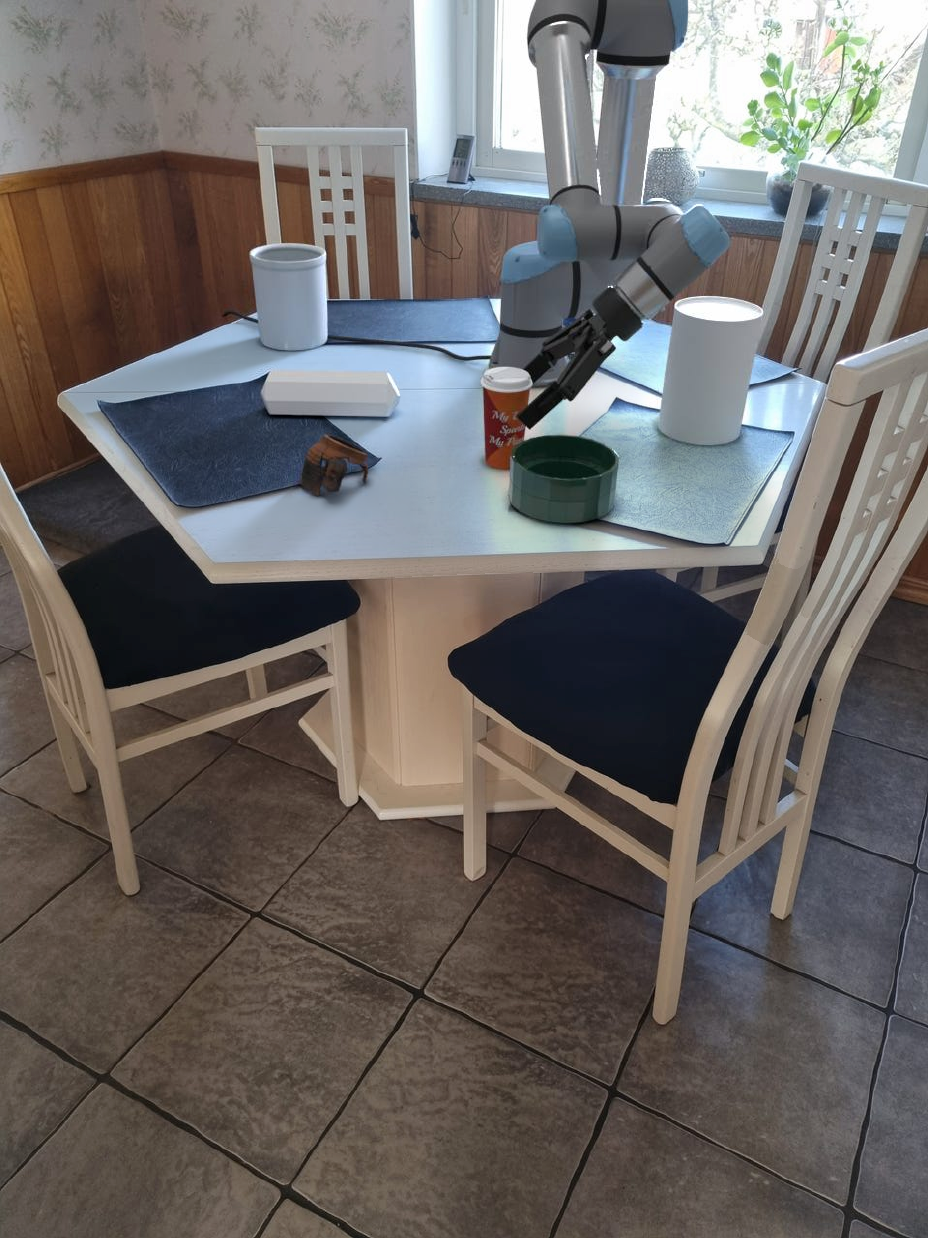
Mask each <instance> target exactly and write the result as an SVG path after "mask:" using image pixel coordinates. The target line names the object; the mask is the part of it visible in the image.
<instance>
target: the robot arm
mask: <svg viewBox="0 0 928 1238" xmlns="http://www.w3.org/2000/svg"><path fill="white" fill-rule="evenodd" d="M688 22H689V0H535V1H534V4H533V6H532V9H531V11H530V15H529V18H528V24H527V32H526V43H527V54H528V59H529V61H530V63H531V64H532V66H533V67H534V68H536V79H537V90H538V99H539V108H540V119H541V128H542V137H543V149H544V159H545V160H544V161H545V169H546V179H547V180H546V181H547V188H548V189H547V190H548V199H549V200H548V201H549V205H544V206H542V207H541V209H540V211H539V213H538V218H537V226H536V234H537V237H536V240H533V241H528V242H524V243H520V244H517V245H515V246H513V247H511V248H510V249H508V250H507V251H506V252H505V253H504V255H503V258H502V264H501V272H500V278H499V279H500V280H499V281H500V283H501V284H500V308H499V310H500V311H499V312H500V313H499V332H498V336H497V338H496V341H495V343H494V346H493V348H492V349H493V350H492V352H491V354H490V355H489V354H488V355H473V356H463V355H459V354H456V353H454V352H452V351H450V350H448V349H446V348H443V347H440V346H436V345H431V344H430V345H429V344H423V343H413V342H406V341H395V340H383V339H374V338H362V337H352V336H343V335H342V336H341V335H334V334H327V340H336V341H344V342H345V341H346V342H354V343H355V342H356V343H366V344H374V345H375V344H377V345H388V346H397V347H407V348H417V349H425V350H431V351H435V352H439V353H442V354H445V355H446V356H448V357H450V358H453V359H455V360H459V361H463V362H464V361H465V362H471V361H483V360H484V361H485V360H489V362H488V370H489V369H492V368H496V367H514V368H519V369H522V370H525V371H526V372H528V373H529V375H530V377H531V378H530V379H531V380H532V383H533V385H532V387H531V388H542V387H546V388H545V389H544V390H543V391H541V393H539V394H538V395H537V396H536V397H535V398H534V399H533V400H532V401H531V402H530V403H528V406H526V407H525V408H524V409H523V410H522V411H521V412H520V413H519V414H518V415H517V418H518V419H519V420H520V421H521V422H522V423H523V424H524V425H525V426H526V428H527V429H528V430H529V431H530V430H531V429H533V428H534V427H535V426H536V425H537V424H538V423H539V422H541V420H543V419H544V418H545V417H546V416H547V415H549V413H550V412H552V410H553V409H555V408H556V407H557V406H558V405H559V404H560V403H562V402H563V400H564V401H566V400H568V402H573V401H574V400H575V398H576V397H577V396H578V395H579V394H580V392H581V391H582V390H583V388H584V387H585V386H586V385H587V383H589V381H590V380H591V378H592V377H593V376H594V375H595V373H596V372H597V371H598V370H599V368H600V367H601V366H602V364H604V362H605V361H606V360H607V359H608V358H609V357H610V356H611V355H612V354H613V353H614V352H615V351H616V349H617V346H616V345H614V343H613V342H612V341H613V340H614V338H615V337H618V338H619V339H620V341H622V342H628V341H629V340H630V339H631V338H632V337H633V336H634V335H636V333H638V332H639V331H640V330H641V329H642V328H643V326H644V322H643V321H644V320H645V321H650V320H652V319H653V318H654V317H655V316H656V315H657V314H658V313H664V312H665V310H666V306H668V304H669V303H670V302H671V301H673V300H674V299H675V298H676V297H677V296H678V295H680V294H681V292H683V291H684V290H685V289H687V288H688V287H689V286H690V285H691V284H692V283H693V282H694V281H696V279H698V277H700V276H701V275H703V273H704V272H706V271H707V270H708V269H709V268H710V267H712V266H713V265H714V264H715V263H716V261H717V260H718V259H719V258H720V257H721V256H722V255H723V254H724V253H725V252H726V251H727V250H728V249H729V248H730V245H731V238H730V236H729V234H728V233H727V231H726V230H725V228H724V227H723V225H722V224H721V223H720V222H719V220H718V219H717V218H716V217H715V216H714V215H713V213H712V212H711V211H710V210H709V209H708V208H707V207H706V206H704V204H701V203H699V204H695V205H693V206H692V207H691V208H690V209H689V210H687V211H685V212H684V211H683V210H682V208H680V207H679V206H678V205H677V204H676V203H672V202H671V201H670V200H667V199H665V198H660V197H655V198H649V199H648V200H646V201H644V202H643V197H644V189H645V182H646V181H645V180H646V175H647V173H646V172H647V166H648V165H647V164H648V158H649V157H648V156H649V149H650V148H649V147H650V141H651V133H652V127H653V126H652V125H653V117H654V111H655V102H656V93H657V86H658V78H659V76H660V75H661V74H662V73H663V72H664V71H665V70H666V69H668V67H669V66H670V59H671V53H675V52H677V51H680V49H681V48H682V47H683V45H684V43H685V38H686V36H687V33H688V32H687V31H688V25H689V24H688ZM591 51H596V56H595V57H596V58H595V63H596V65H597V66H598V67H599V69H600V70H601V72H602V73H603V85H602V94H601V107H600V116H599V125H598V136H597V145H596V136H595V126H594V118H593V108H592V99H591V98H592V97H591V90H590V89H591V88H590V80H589V72H588V62H587V57H588V56H589V54H590V53H591ZM229 315H235V316H237V317H239V318H241V319H243V320H245V321H248V322H251V323H255V324H258V318H254V317H251V316H247V315H245V314H243V313H241V312H239V311H236V310H235V309H234V310H232V309H229V310H226V311H224V312H223V314H222V315H221V317H223V318H226V317H227V316H229ZM567 318H578V319H576V320H575V321H573V322H572V323H570V324H569V325H568V326H566V327H565V328H564V327H563V319H567ZM573 353H574V354H573ZM572 354H573V355H572ZM569 355H572V357H571V358H570V360H569V358H568V357H569Z"/></svg>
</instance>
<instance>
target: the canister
mask: <svg viewBox="0 0 928 1238" xmlns="http://www.w3.org/2000/svg"><path fill="white" fill-rule="evenodd" d="M672 315H673V316H672V323H671V331H670V337H669V344H668V351H667V359H666V365H665V373H664V380H663V387H662V395H661V401H660V409H659V417H658V424H657V427H658V430H659V432H661V433H662V434H663V435H665V436H666V437H669V438H671V439H672V440H675V441H678V442H682V443H686V444H692V445H697V446H698V445H700V446H718V445H723V444H724V445H725V444H728V443H731V442H733V441H736V440H737V439H738V438H739V437H740V435H741V430H742V425H743V419H744V415H745V411H746V410H745V409H746V404H747V400H748V393H749V389H750V388H749V387H750V384H751V378H752V374H753V367H754V363H755V357H756V352H757V348H758V342H759V336H760V331H761V326H762V320H763V315H764V310H763V308H762V307H760V306H759V305H757V304H755V303H753V302H750V301H747V300H743V299H738V298H734V297H725V296H716V295H715V296H714V295H711V296H710V295H705V296H704V295H703V296H701V295H700V296H691V297H686V298H682V299H679V300H677V301H676V302H675V304H674V307H673V314H672Z"/></svg>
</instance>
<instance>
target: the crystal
mask: <svg viewBox="0 0 928 1238" xmlns="http://www.w3.org/2000/svg"><path fill="white" fill-rule="evenodd" d="M259 394H260V397H261V400H262V401H263V404H264V407H265V409H266V410H267V413H268V414H269V415H291V416H340V417H341V416H342V417H343V416H344V417H345V416H346V417H385V418H386V417H391V415H392V414H393V412H394V411H395V410H396V408H397V407H398V405H399V403H400V401H401V394H400V390H399V388H398V386H397V385H396V383H395V381H394V379H393V378H392V376H391V374H390V373H388V371H368V370H367V371H363V370H362V371H361V370H360V371H359V370H314V369H310V370H309V369H270V370H269V372H268V374H267V377H266V379H265V381H264V383H263V385H262V388H261V391H260V393H259Z"/></svg>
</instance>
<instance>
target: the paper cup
mask: <svg viewBox="0 0 928 1238" xmlns="http://www.w3.org/2000/svg"><path fill="white" fill-rule="evenodd" d="M530 378H531V377H530V375H529V373H528V372H526V371H525V370H522V369H519V368H514V367H496V368H492V369H489V368H488V369H487V370H485V372H484V373H483V377H482V378H481V380H480V385H481V386H482V397H483V398H482V402H483V432H484V433H483V434H484V435H483V436H484V456H485V463H486V465H487V466H489V467H490V468H493V469H497V470H510V459H511V453H512V450H513V448H514V447H515V446H516V445H518V444H519V443H520V442H523V441H525V436H526V428H527V427H526V426H525V425H524V424H523V423H522V422H521V421H520V420H519V419H518V418H517V415H518V414H519V413H520V412H521V411H522V410H523V409H524V408H525V407H526V406H528V405H529V400H530V394H531V393H530V391H531V388H533V387H532V385H533V383H532V380H531V379H530Z"/></svg>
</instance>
